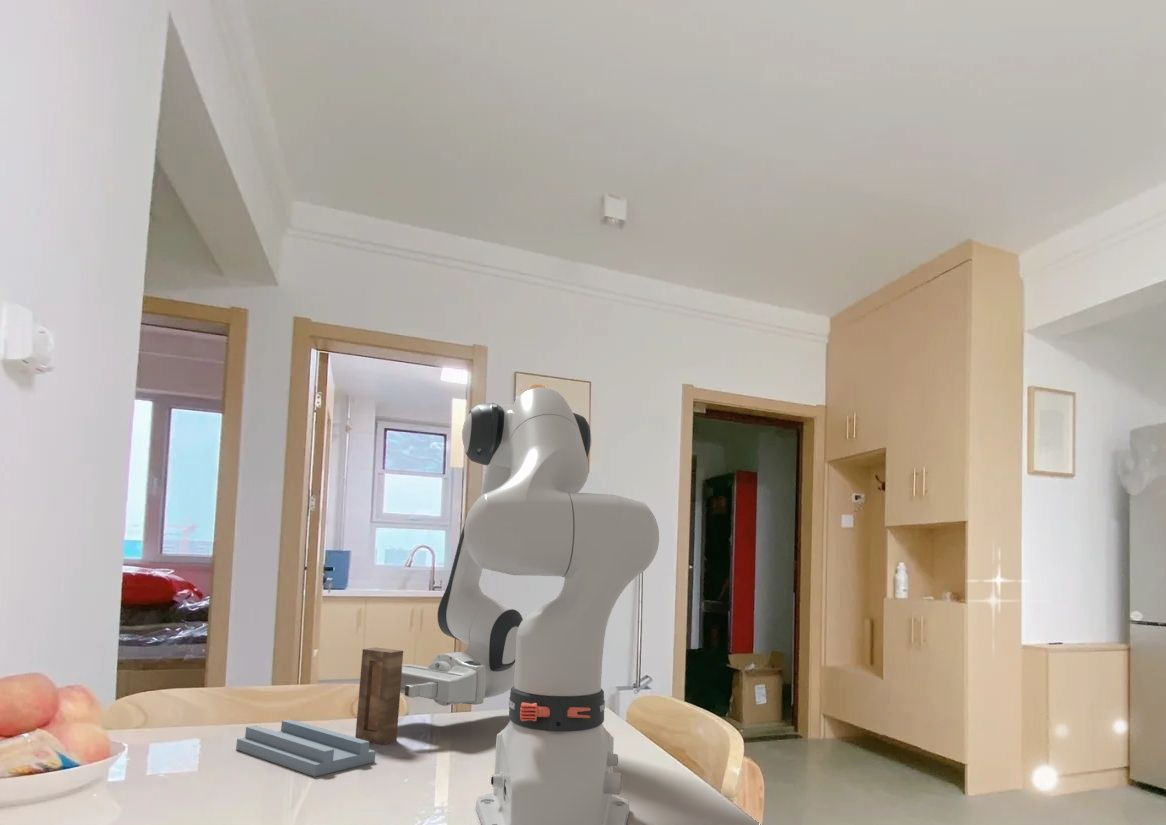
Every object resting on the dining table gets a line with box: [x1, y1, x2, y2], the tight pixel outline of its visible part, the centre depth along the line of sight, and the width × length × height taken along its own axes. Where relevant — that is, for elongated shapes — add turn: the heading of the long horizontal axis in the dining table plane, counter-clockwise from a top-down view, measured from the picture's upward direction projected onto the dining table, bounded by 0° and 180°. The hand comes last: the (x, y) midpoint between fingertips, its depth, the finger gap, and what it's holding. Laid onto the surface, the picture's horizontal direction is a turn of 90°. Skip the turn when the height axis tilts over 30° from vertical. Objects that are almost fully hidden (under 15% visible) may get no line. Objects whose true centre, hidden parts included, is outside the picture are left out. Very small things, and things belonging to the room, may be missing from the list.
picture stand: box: [235, 719, 376, 778], centre depth 111 cm, size 20×10×3 cm, turn 53°
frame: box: [354, 647, 404, 745], centre depth 123 cm, size 6×3×14 cm, turn 63°
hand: (388, 687), depth 124 cm, fingers open, 8 cm apart
